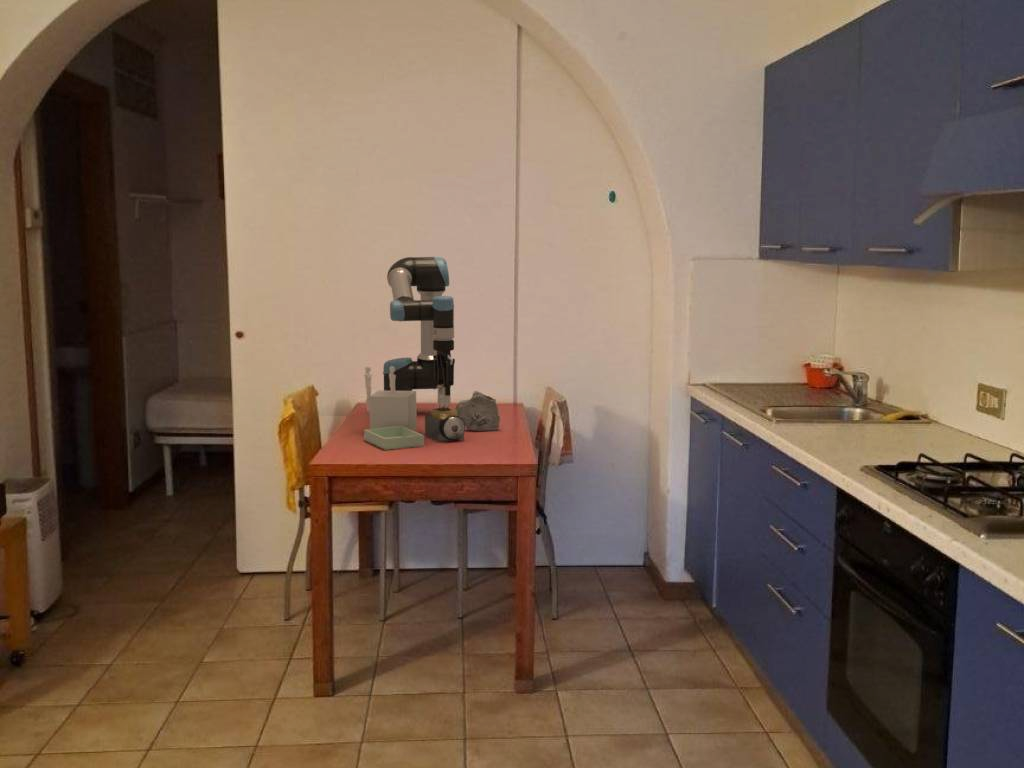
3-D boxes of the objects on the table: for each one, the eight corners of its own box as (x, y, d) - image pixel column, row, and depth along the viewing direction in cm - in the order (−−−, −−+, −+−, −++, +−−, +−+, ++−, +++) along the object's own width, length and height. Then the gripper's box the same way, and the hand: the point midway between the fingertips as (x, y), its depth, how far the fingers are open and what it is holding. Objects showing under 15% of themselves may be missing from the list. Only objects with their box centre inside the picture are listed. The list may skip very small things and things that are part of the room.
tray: (364, 440, 364) (364, 429, 364) (401, 436, 371) (401, 425, 371) (385, 450, 347) (385, 439, 347) (423, 446, 354) (423, 435, 354)
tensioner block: (425, 436, 372) (424, 408, 370) (449, 433, 377) (449, 406, 375) (442, 443, 359) (442, 414, 357) (467, 440, 364) (467, 412, 362)
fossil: (454, 432, 380) (453, 393, 377) (454, 429, 386) (453, 390, 384) (500, 431, 380) (500, 392, 378) (499, 428, 387) (499, 389, 385)
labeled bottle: (437, 415, 369) (437, 388, 367) (446, 414, 370) (446, 387, 369) (441, 416, 365) (441, 389, 364) (450, 416, 367) (450, 388, 366)
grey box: (408, 436, 372) (407, 368, 369) (360, 435, 374) (359, 368, 371) (416, 428, 387) (415, 363, 383) (370, 427, 389) (369, 363, 385)
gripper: (424, 337, 369) (425, 400, 373) (444, 342, 355) (444, 407, 358) (442, 336, 373) (443, 399, 376) (463, 340, 358) (463, 405, 362)
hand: (444, 403), depth 367 cm, fingers closed on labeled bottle, 4 cm apart
